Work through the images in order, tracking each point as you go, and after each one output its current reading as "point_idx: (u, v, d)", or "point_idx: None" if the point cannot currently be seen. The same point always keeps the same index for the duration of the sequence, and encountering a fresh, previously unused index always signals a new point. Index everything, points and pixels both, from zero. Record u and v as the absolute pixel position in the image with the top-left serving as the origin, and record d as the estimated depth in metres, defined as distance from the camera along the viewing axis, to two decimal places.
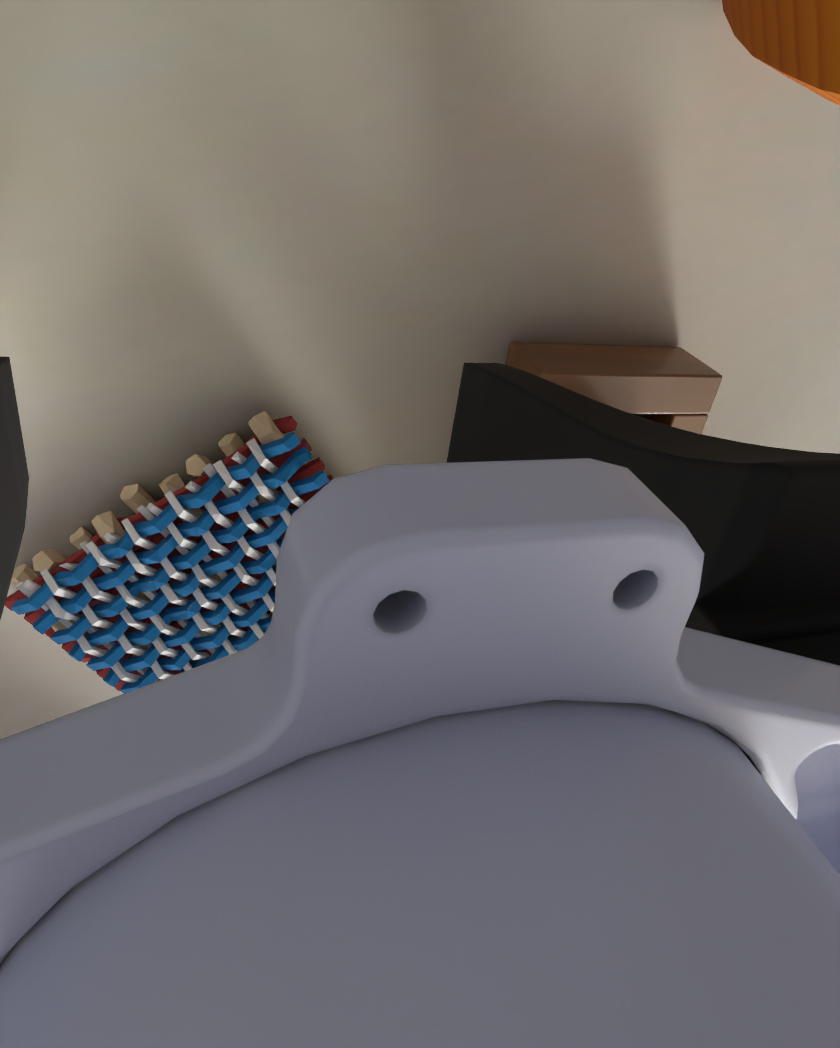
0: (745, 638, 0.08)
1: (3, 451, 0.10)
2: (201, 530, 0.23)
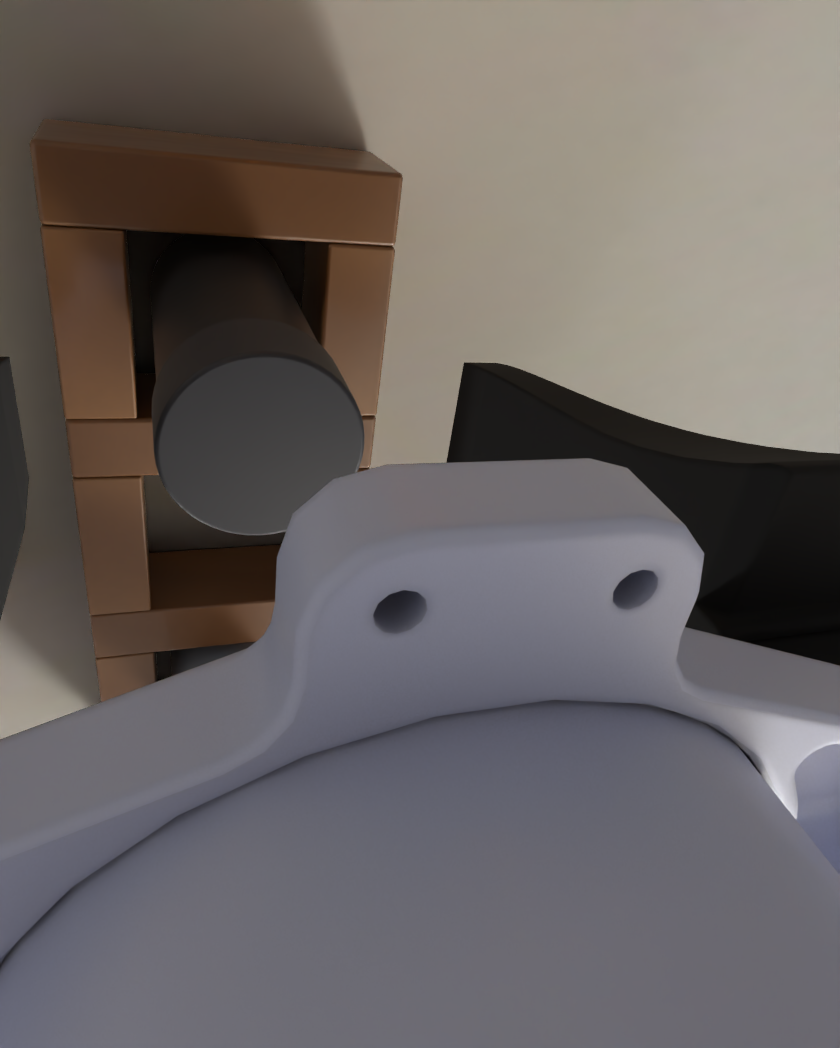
0: (745, 638, 0.08)
1: (3, 451, 0.10)
2: None
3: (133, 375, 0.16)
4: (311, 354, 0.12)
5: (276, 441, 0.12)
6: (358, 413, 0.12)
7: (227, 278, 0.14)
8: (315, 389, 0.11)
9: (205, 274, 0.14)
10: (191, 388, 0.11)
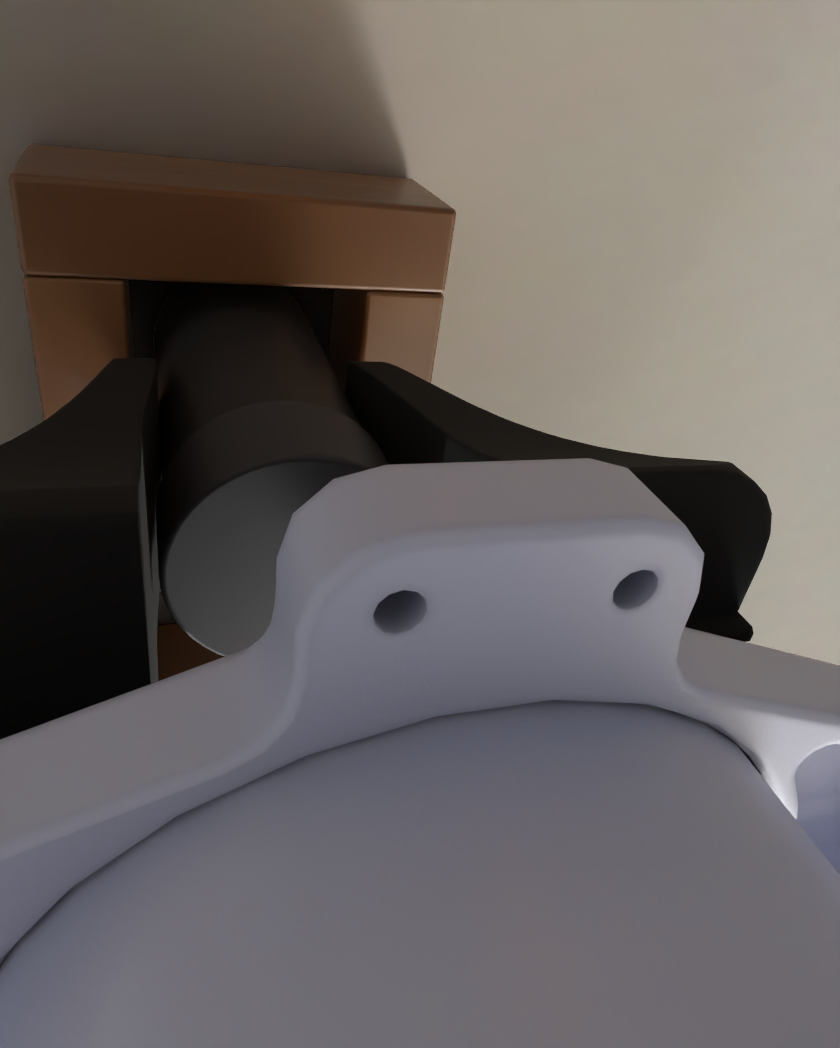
0: None
1: (158, 448, 0.11)
2: None
3: None
4: (358, 451, 0.09)
5: None
6: None
7: (247, 338, 0.11)
8: None
9: (220, 332, 0.12)
10: (207, 502, 0.09)
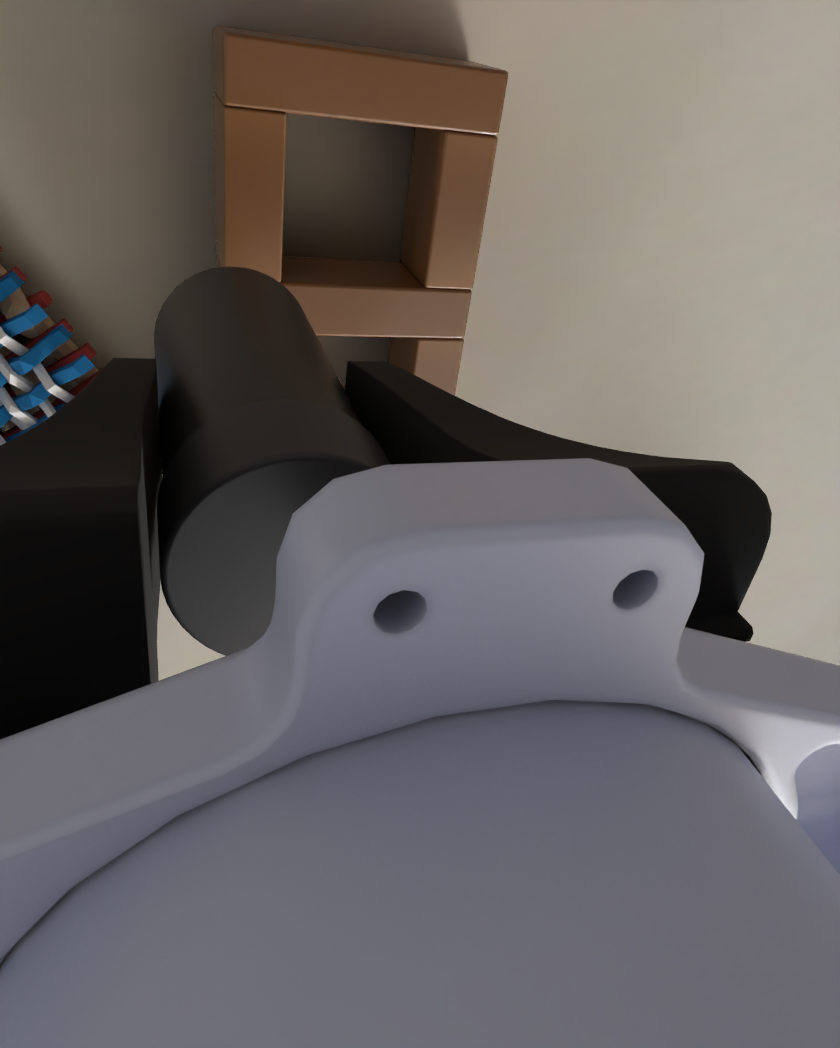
0: None
1: (158, 448, 0.11)
2: None
3: (281, 242, 0.19)
4: (359, 450, 0.09)
5: None
6: None
7: (248, 338, 0.11)
8: None
9: (221, 331, 0.12)
10: (207, 501, 0.09)
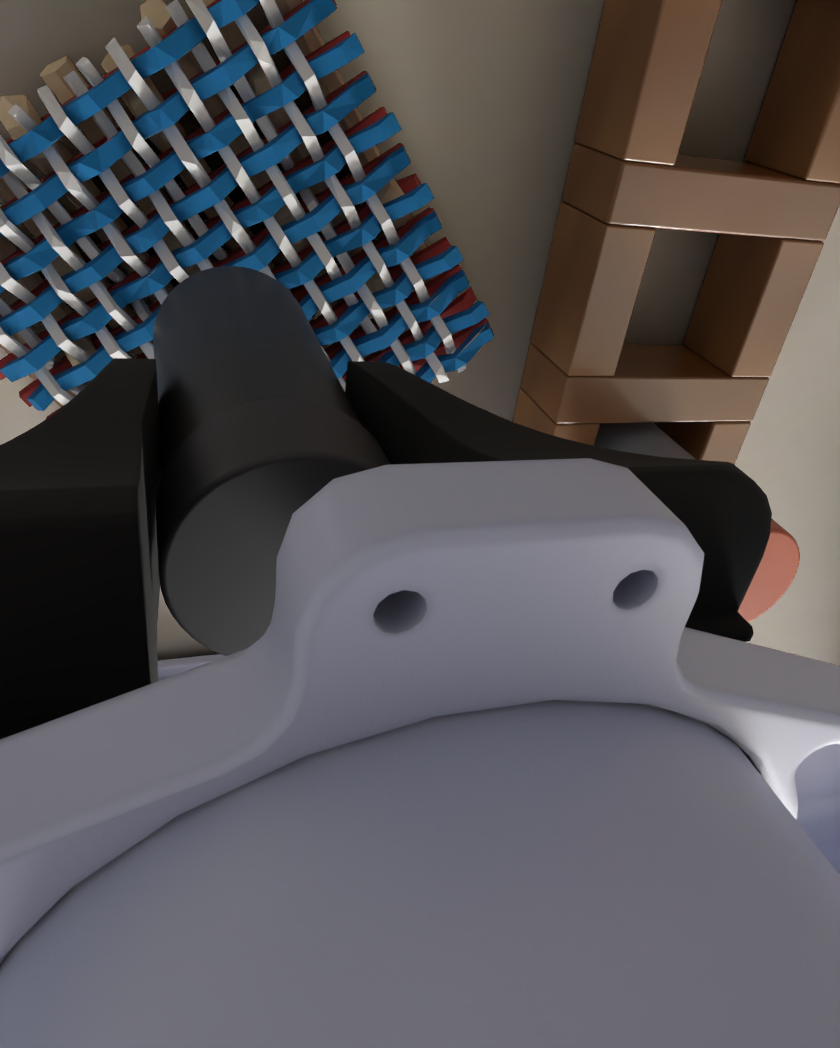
0: None
1: (158, 448, 0.11)
2: (165, 118, 0.15)
3: (686, 119, 0.17)
4: (358, 450, 0.09)
5: None
6: None
7: (247, 337, 0.11)
8: None
9: (221, 330, 0.12)
10: (207, 501, 0.08)
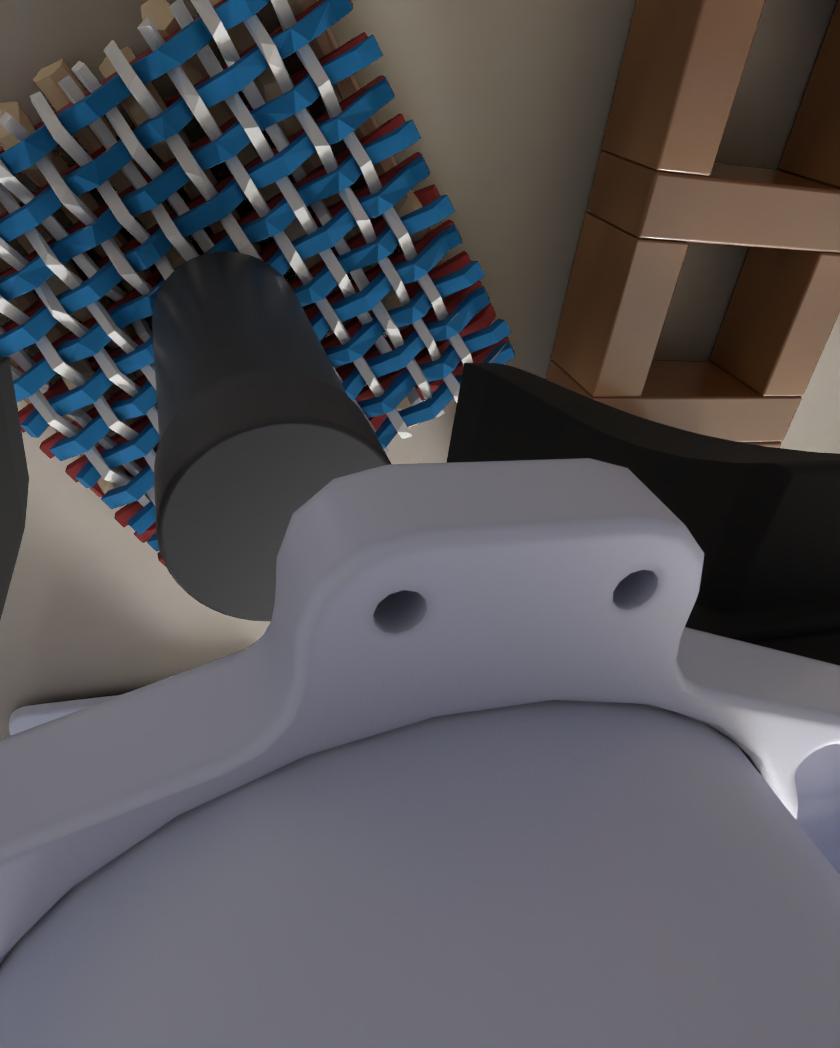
0: (745, 638, 0.08)
1: (3, 451, 0.10)
2: (168, 126, 0.14)
3: (724, 126, 0.16)
4: (343, 416, 0.10)
5: None
6: None
7: (241, 316, 0.12)
8: (348, 458, 0.10)
9: (216, 309, 0.12)
10: (200, 462, 0.09)
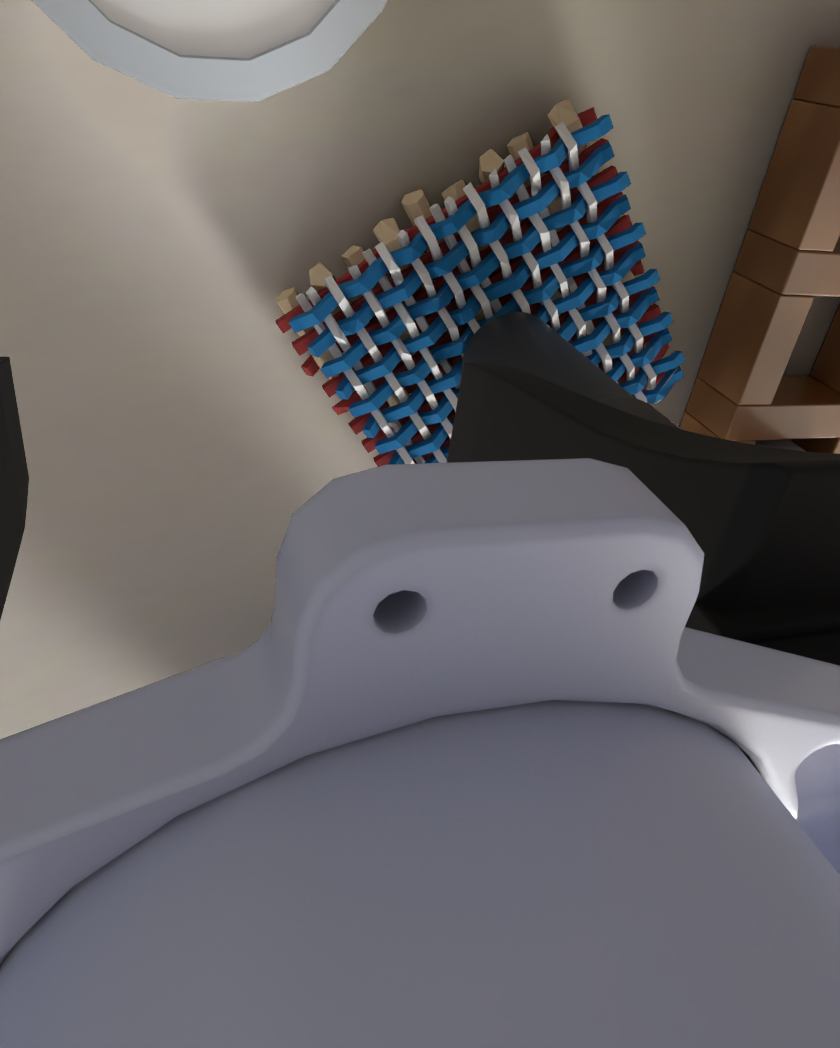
0: (745, 638, 0.08)
1: (3, 451, 0.10)
2: (496, 234, 0.21)
3: None
4: (672, 424, 0.17)
5: None
6: None
7: (569, 361, 0.19)
8: None
9: (547, 356, 0.20)
10: None
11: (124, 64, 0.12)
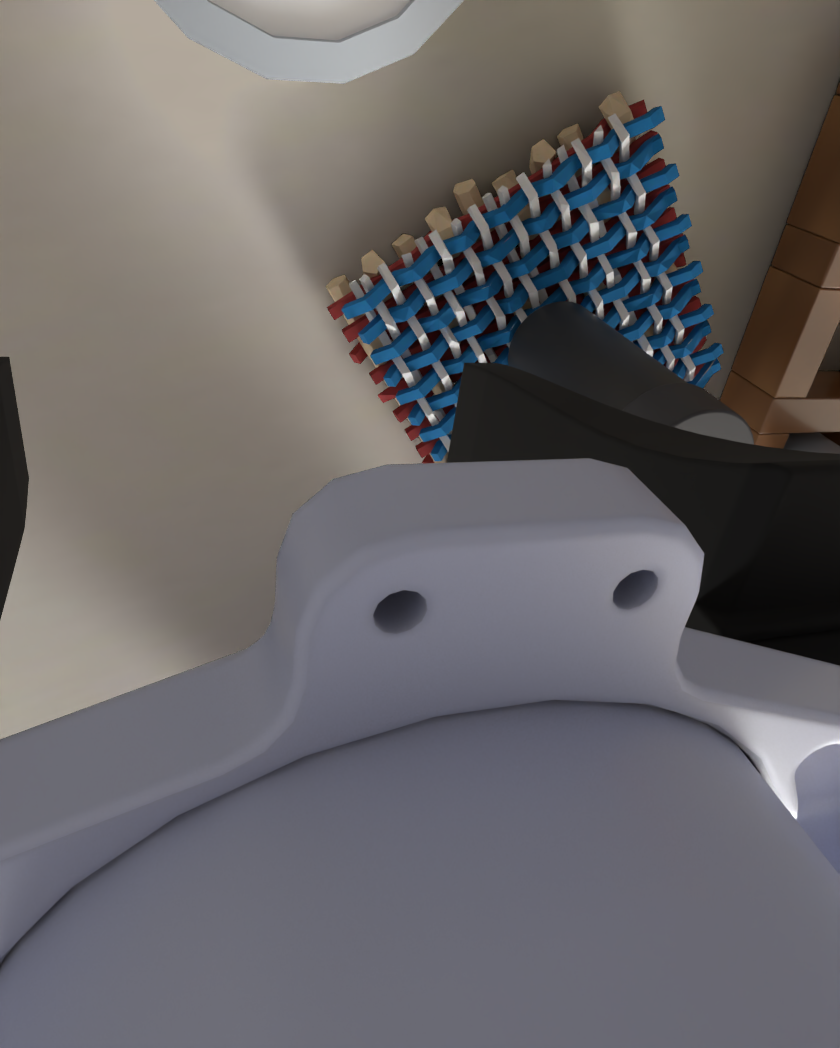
0: (745, 638, 0.08)
1: (3, 451, 0.10)
2: (547, 224, 0.21)
3: None
4: (731, 409, 0.17)
5: None
6: None
7: (622, 348, 0.20)
8: (735, 432, 0.17)
9: (600, 344, 0.20)
10: None
11: (219, 44, 0.13)
